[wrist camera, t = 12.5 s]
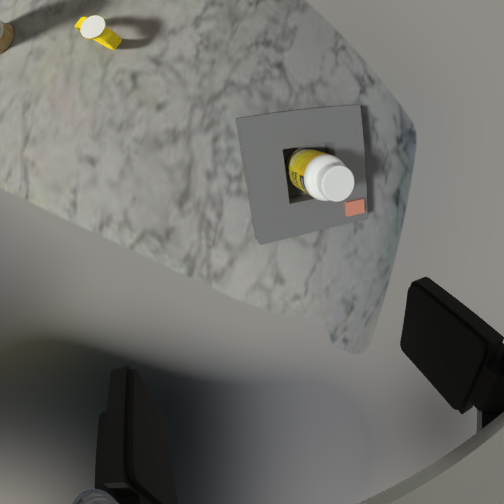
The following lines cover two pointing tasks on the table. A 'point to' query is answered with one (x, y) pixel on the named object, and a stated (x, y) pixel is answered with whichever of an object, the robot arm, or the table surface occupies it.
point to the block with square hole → (274, 176)
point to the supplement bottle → (319, 175)
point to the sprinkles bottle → (5, 36)
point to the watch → (98, 31)
